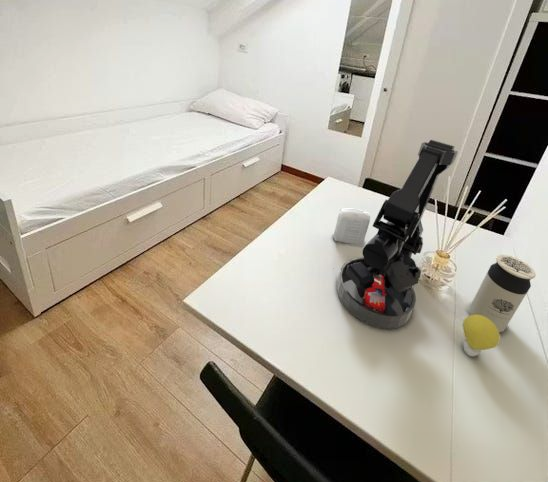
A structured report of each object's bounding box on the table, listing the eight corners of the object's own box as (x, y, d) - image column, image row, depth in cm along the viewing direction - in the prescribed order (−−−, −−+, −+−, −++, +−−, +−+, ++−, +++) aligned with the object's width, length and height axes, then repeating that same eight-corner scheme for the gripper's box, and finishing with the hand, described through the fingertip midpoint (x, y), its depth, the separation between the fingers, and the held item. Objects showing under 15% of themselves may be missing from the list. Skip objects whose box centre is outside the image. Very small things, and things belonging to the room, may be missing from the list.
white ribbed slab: (362, 238, 101) (370, 208, 96) (364, 246, 97) (373, 215, 92) (332, 234, 101) (339, 203, 96) (333, 242, 97) (340, 211, 93)
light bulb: (487, 373, 62) (506, 342, 59) (452, 354, 66) (468, 324, 62) (485, 348, 68) (503, 318, 64) (453, 331, 71) (468, 302, 67)
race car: (383, 319, 72) (387, 307, 70) (361, 311, 73) (364, 299, 72) (384, 280, 83) (387, 270, 82) (364, 274, 85) (367, 263, 83)
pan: (375, 262, 90) (378, 251, 89) (427, 314, 75) (432, 302, 73) (323, 278, 82) (326, 266, 81) (369, 340, 67) (374, 327, 65)
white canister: (470, 300, 81) (496, 248, 73) (505, 318, 76) (536, 265, 69) (466, 318, 75) (494, 265, 68) (503, 339, 70) (537, 284, 63)
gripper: (384, 279, 61) (367, 329, 68) (442, 259, 69) (423, 306, 75) (351, 245, 70) (338, 292, 77) (406, 231, 78) (391, 274, 84)
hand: (373, 291), depth 78 cm, fingers open, 9 cm apart
